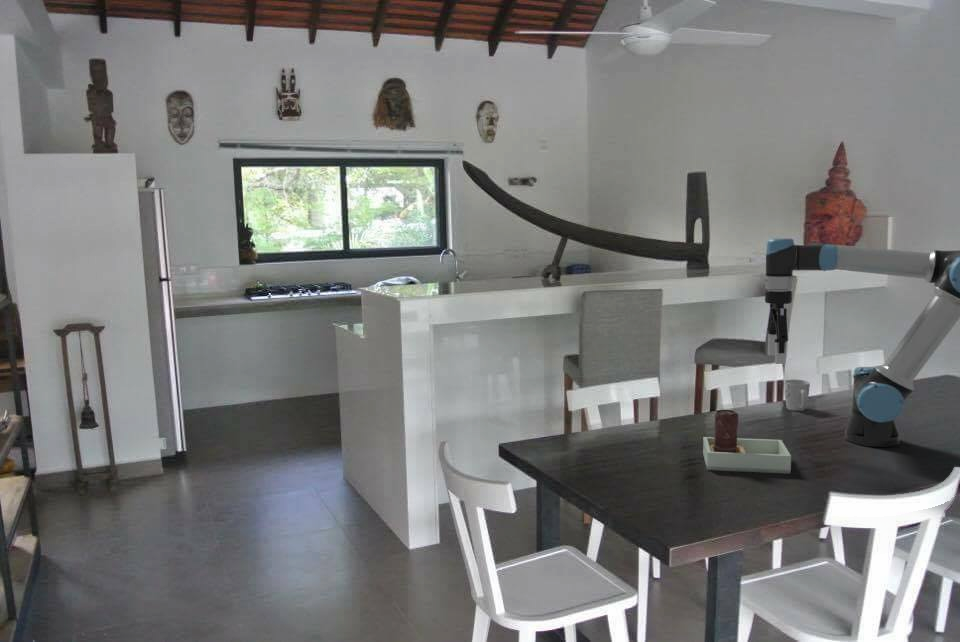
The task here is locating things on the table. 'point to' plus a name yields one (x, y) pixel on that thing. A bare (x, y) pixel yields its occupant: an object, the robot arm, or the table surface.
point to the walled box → (749, 456)
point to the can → (726, 431)
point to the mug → (796, 394)
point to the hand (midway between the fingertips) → (776, 359)
